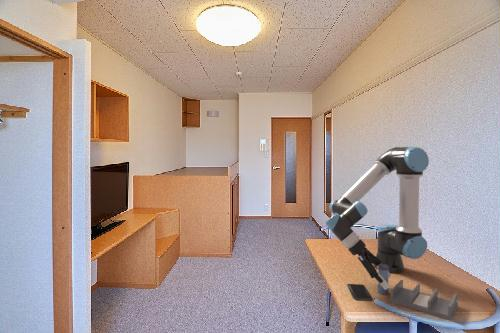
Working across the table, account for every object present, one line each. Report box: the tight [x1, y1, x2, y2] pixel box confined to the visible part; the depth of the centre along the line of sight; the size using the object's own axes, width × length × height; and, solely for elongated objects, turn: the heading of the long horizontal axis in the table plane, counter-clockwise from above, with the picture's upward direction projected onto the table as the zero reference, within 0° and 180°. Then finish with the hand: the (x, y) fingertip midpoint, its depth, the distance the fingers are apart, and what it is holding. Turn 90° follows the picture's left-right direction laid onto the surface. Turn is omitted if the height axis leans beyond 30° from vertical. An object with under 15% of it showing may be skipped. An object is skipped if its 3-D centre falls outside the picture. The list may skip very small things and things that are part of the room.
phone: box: [346, 283, 374, 302], centre depth 141 cm, size 8×1×15 cm
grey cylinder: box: [377, 264, 390, 295], centre depth 141 cm, size 4×4×12 cm
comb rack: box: [389, 279, 459, 321], centre depth 131 cm, size 15×22×5 cm
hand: (388, 282), depth 140 cm, fingers open, 13 cm apart
